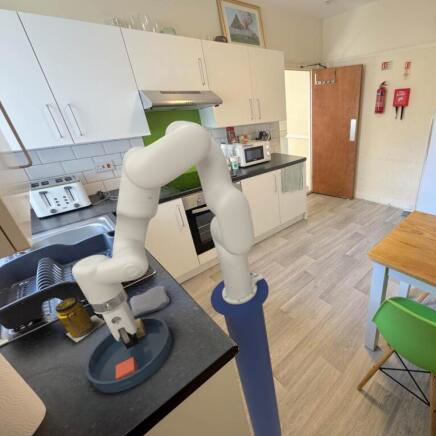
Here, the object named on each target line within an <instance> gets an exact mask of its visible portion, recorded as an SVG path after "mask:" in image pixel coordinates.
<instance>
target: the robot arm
mask: <svg viewBox="0 0 436 436" xmlns="http://www.w3.org/2000/svg"><path fill="white" fill-rule="evenodd" d="M121 165H122V166H121V174H120V180H119V189H118V196H117V204H116V213H115V214H116V221H115V229H114V237H113V244H112V255H111V258H110V257H108V256H107V255H104V254H94V255H89V256H87V257H84V258H81V260H79V261H77V262H76V263H75V264H74V265H73V266H72V269H71V273H72V276H73V278H74V280H75V281H76V283H77V285H78V286H79V288H80V290H81V291H82V294H83V295H84V297H85V298H86V300H87V301H88V304H89V306H90V307H91V309H92V310H93V312H94V313H95V314H97V315H102V317H103V319H104V321H105V323H106V325H107V327H108V330H109V331H110V333H112V334H113V336H114V338H115V339H116V340H117V341H120V340H121V339H122V341H123V343H124V345H125V346H126V348H127V349H129V348H131V347H133V346H135V345H137V344H139V340H138V337H137V335H136V332H137V327H136V323H135V320H136V319H135V316H134V315H133V313H132V308H130V306H129V304H128V302H127V300H128V294H127V292H126V290H125V288H124V286H123V284H122V283H126V282H130V281H135V280H138V279H140V278H142V277H143V276H144V275H146V273H147V272H148V270H149V261H148V257H147V253H146V249H145V247H146V238H147V231H148V227H149V224H150V221H152V219H153V218H154V217H156V215H157V213H158V208H159V202H160V194H161V189H162V187H164V186H166V185H167V184H169V183H171V182H173V181H174V180H175V179H177V178H179V177H180V176H181V175H183V174H184V173H186V172H187V171H188V170H190V169H192V168H193V167H195V169H196V171H197V175H198V177H199V181H200V186H201V188H202V193H203V197H204V202H205V204H206V207H207V208H208V209H209V210H210V212H212V214H213V215H214V217H213V218H212V220H211V222H210V225H209V226H210V227H209V229H210V235H211V238H212V241H213V243H214V247H215V251H216V253H217V257H218V262H219V267H220V271H221V276H222V279H223V280H224V284H225V287H224V289H223V291H222V296H223V299H224V300H225V301H226V302H227V303H230V304H242V303H245V302H247V301H249V300H251V299H252V298H253V297H254V296H255V294H256V292H257V285H256V283H257V281H259V280H261V279H263V278H264V276H263V274H262V273H260V274H257V273H256V272H254V273H252V275H250V273H251V269H250V263H249V257H248V252H249V251H251V249H252V247H253V246H254V243H255V229H254V223H253V217H252V212H251V211H252V210H251V206H250V203H249V200H248V198H247V197H246V195H245V193H243V192H242V191H241V190H240V189H238V188H236V187H235V185H234V183H233V181H232V180H233V179H232V177H231V173H230V168H229V164H228V161H227V157H226V156H225V152H224V150H223V149H222V147H221V146H220V144H219V143H218V142H217V141H216V140H215V138H213V136H211V134H210V133H209V131H208V130H207V129H206V128H205V127H203V126H202V124H199V123H197V122H193V121H188V120H175V121H173V122H171V123H170V124H168V126H167V127H166V129H165V134H164V135H163V136H162V137H160V138H159V139H157V140H155V141H153V142H152V143H149V145H147V146H141V145H140V146H134V147H132V148H131V147H130V148H129V149H128V150H127V151H126V152H125V154H124V156H123V159H122V164H121ZM257 275H258V276H257ZM256 276H257V277H256ZM223 280H222V281H223ZM120 337H121V339H120Z"/></svg>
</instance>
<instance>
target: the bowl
mask: <svg viewBox="0 0 436 436" xmlns="http://www.w3.org/2000/svg"><path fill="white" fill-rule="evenodd" d="M139 318H140V320H141V321H142V322H143V324H144V325H145V331H146V335H144V336H142V337H141V338H139V339H138V340H139V344H137V345H135V346H133V347H131V348H129V349H127V348H126V346H125V345H124V343H123V341H122V339H121V337H120V339H121V340H120V341H117V340H116V339H115V338H114V336H113V334H112V333H111V332H109V333H108V334H106V335H105V336H104V338H102V339H101V340H100V341H99V343H97V344H96V346H95V347H94V348H93V349H92V351H91V352H90V354H89V356H88V358H87V361H86V364H85V375H86V376H87V379H88V380H89V381H90V382H91V384H92V385H93V387H94V388H96V389H97V390H98V391H99V392H102V393H108V394H110V393H111V394H114V393H119V392H120V393H121V392H124V391H127V390H129V389H132V388H133V387H136V386H137V385H139V384H141V383H142V382H144V381H145V380H147V379H148V378H150V377H151V376H152V375H153V374H154V373H155V372H156V371H157V370H158V369H160V367H161V366H162V365H163V363H164V362H165V360H166V359H167V357H168V356H169V354H170V351H171V348H172V346H173V345H172V343H173V337H172V334H171V332H170V331H171V330H170V329H169V326H168V324H167V322H165V321H164V320H163V319H162V318H159V317H154V316H153V317H152V316H146V317H139ZM137 319H138V318H137ZM137 319H136V318H135V320H137ZM132 357H133V358H134V359H135V361H136V363H137V365H138V370H137V371H136V372H134V373H132V374H131V375H129V376H126V377H124V378H121V379H119V380H117V379H116V365H118V364H120V363H122V362H124V361H126V360H128V359H130V358H132Z"/></svg>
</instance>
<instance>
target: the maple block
mask: <svg viewBox="0 0 436 436" xmlns="http://www.w3.org/2000/svg"><path fill="white" fill-rule="evenodd" d="M140 318H141V317H139V318H137V320H136V319H134V320H135V323H136V327H137V332H136V335H137V337H138V339H139V338H141V337H142V336H144V335H146V331H145V325H144V324H143V322H142V321H141V320H140Z"/></svg>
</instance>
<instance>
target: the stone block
mask: <svg viewBox="0 0 436 436" xmlns="http://www.w3.org/2000/svg"><path fill="white" fill-rule="evenodd" d="M129 304H130V307H131V311H132V313H133V316H134V317H139V316H142V315H146V314H150V313H154V312H156V311H159V310H163V309H164V308H165V307H166V306H168V305H169V304H170V298H169V296H168V294H167V291H166V288H165V286H164V285H156V286H154V287H152V288H150V289H148V290H146V291H145V292H143V293H141V294H140V293H139V294H138V295H137V294H136V295H134V296H132V297H131V298H130V300H129Z"/></svg>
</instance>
